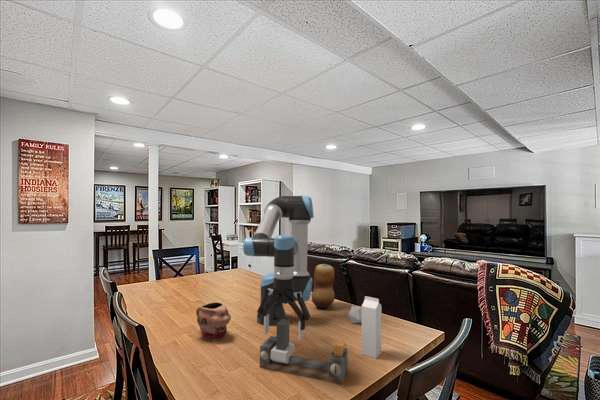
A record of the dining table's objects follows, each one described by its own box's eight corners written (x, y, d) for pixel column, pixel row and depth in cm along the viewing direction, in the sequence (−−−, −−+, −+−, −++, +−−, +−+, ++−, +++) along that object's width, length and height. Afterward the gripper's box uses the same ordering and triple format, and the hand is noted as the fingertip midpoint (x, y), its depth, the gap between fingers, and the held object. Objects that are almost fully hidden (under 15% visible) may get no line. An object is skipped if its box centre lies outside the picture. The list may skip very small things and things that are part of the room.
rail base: (258, 367, 102) (259, 346, 102) (270, 355, 111) (270, 335, 111) (342, 385, 92) (342, 361, 92) (347, 370, 101) (347, 348, 101)
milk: (367, 348, 117) (367, 294, 119) (381, 353, 114) (381, 297, 115) (361, 354, 113) (361, 297, 114) (376, 359, 109) (376, 300, 110)
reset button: (331, 356, 96) (331, 344, 97) (334, 351, 100) (334, 339, 100) (343, 358, 95) (343, 346, 95) (345, 353, 99) (345, 341, 99)
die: (361, 328, 140) (370, 310, 143) (346, 318, 141) (355, 301, 145) (358, 328, 147) (366, 311, 151) (343, 318, 149) (352, 302, 152)
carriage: (270, 362, 102) (271, 324, 102) (279, 352, 109) (279, 317, 110) (286, 365, 100) (286, 327, 100) (294, 354, 107) (294, 319, 108)
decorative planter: (184, 337, 126) (185, 305, 127) (204, 327, 137) (204, 297, 138) (219, 346, 118) (220, 312, 118) (238, 335, 129) (238, 303, 129)
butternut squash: (328, 313, 159) (329, 267, 160) (307, 308, 165) (308, 265, 167) (338, 306, 171) (338, 264, 172) (318, 302, 177) (318, 262, 179)
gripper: (249, 276, 106) (247, 334, 105) (313, 282, 98) (312, 345, 97) (258, 272, 113) (257, 327, 112) (318, 278, 105) (318, 336, 104)
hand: (282, 335), depth 105 cm, fingers open, 13 cm apart
